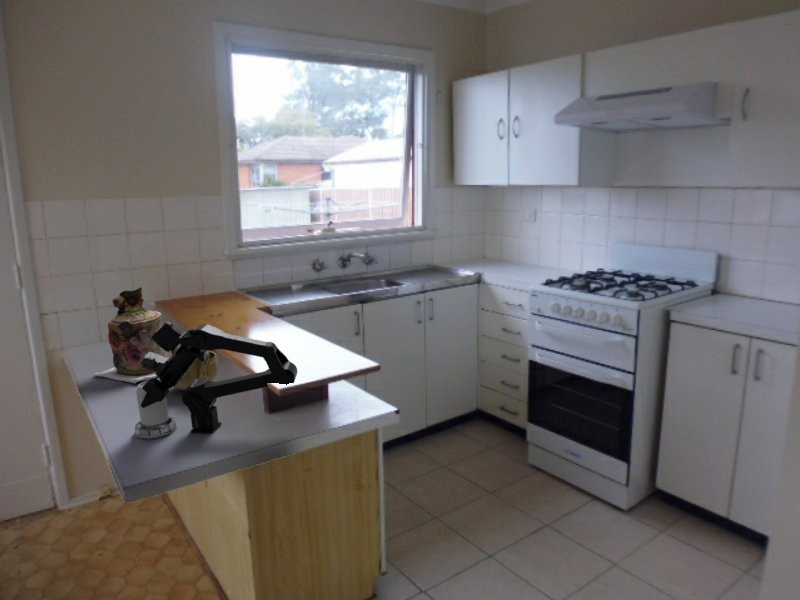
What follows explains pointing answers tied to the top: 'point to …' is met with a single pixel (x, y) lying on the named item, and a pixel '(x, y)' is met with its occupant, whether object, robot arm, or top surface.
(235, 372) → the top surface
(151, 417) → the can
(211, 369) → the ceramic bowl
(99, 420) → the top surface
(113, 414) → the top surface
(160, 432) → the rosette plate
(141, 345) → the cookie jar
